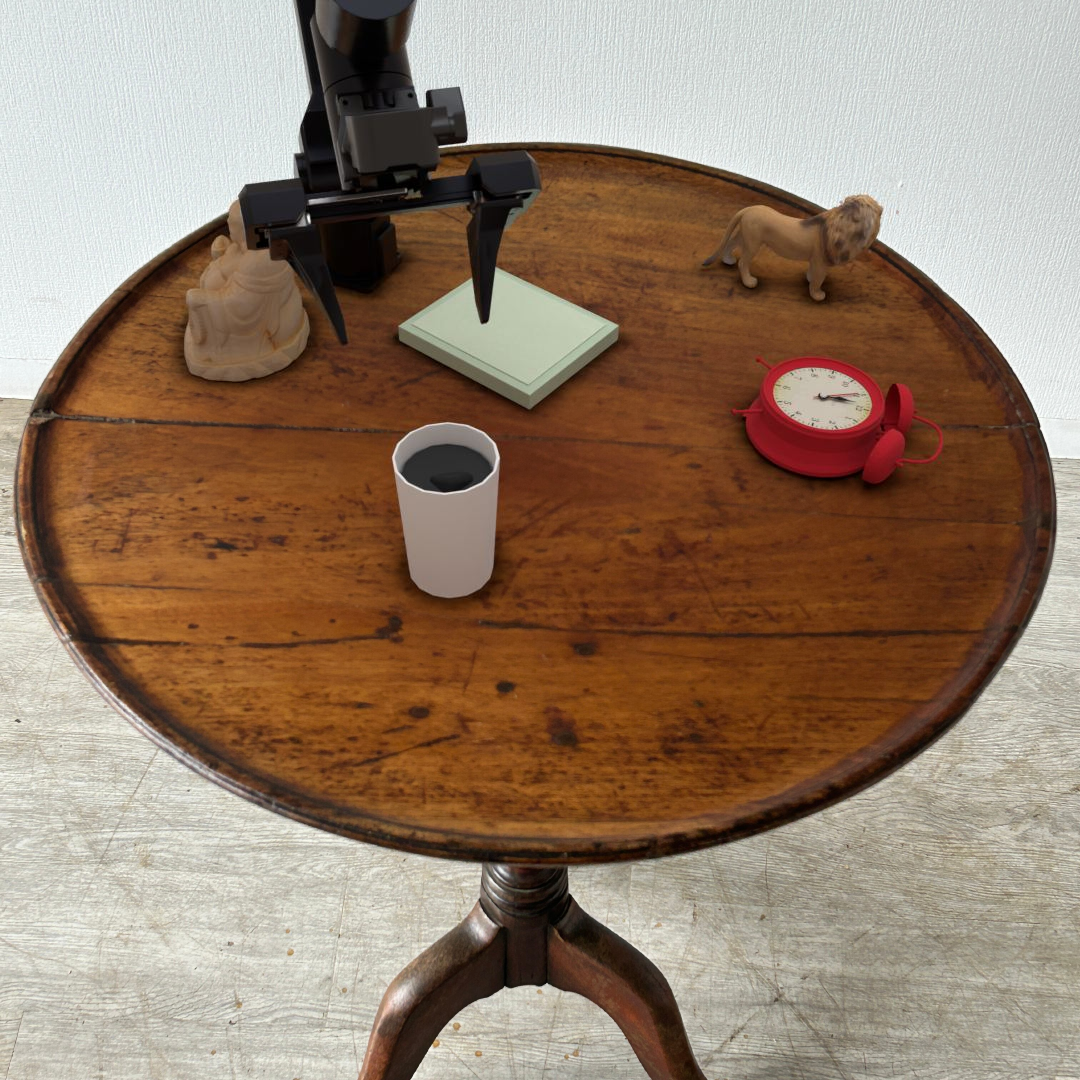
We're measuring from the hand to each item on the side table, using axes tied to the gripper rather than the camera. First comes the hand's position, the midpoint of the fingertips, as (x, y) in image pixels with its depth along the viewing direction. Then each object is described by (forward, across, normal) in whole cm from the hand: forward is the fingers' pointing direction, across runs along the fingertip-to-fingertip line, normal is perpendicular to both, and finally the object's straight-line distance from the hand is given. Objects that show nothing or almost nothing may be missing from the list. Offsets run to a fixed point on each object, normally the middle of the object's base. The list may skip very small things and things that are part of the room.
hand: (415, 333), depth 72 cm
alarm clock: (+12, +31, +8) cm, 34 cm away
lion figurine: (-3, +37, +22) cm, 44 cm away
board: (-1, +11, +21) cm, 23 cm away
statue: (-6, -10, +25) cm, 28 cm away
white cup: (+16, 0, +4) cm, 16 cm away
